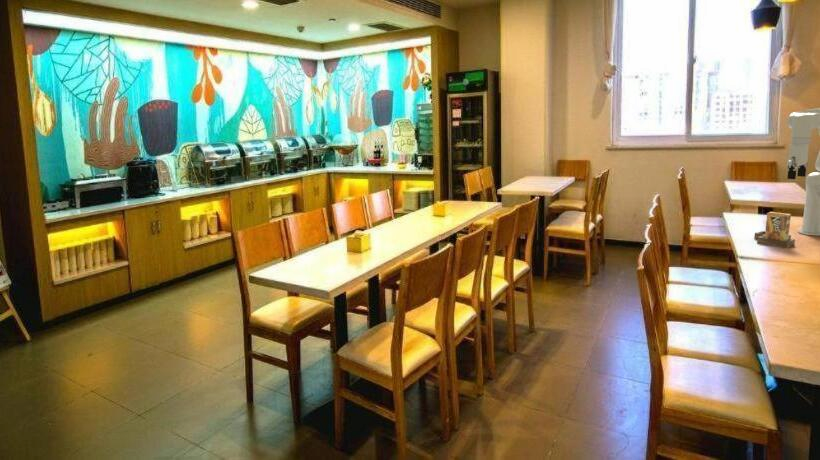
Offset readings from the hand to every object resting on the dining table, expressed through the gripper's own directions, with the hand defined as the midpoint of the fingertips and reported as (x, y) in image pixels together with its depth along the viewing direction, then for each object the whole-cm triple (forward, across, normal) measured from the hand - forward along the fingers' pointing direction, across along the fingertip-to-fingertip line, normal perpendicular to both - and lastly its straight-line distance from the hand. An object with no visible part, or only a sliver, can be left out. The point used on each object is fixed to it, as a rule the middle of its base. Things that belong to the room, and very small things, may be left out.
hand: (796, 177), depth 262 cm
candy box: (+32, +8, -2) cm, 33 cm away
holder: (+32, +5, -5) cm, 33 cm away
